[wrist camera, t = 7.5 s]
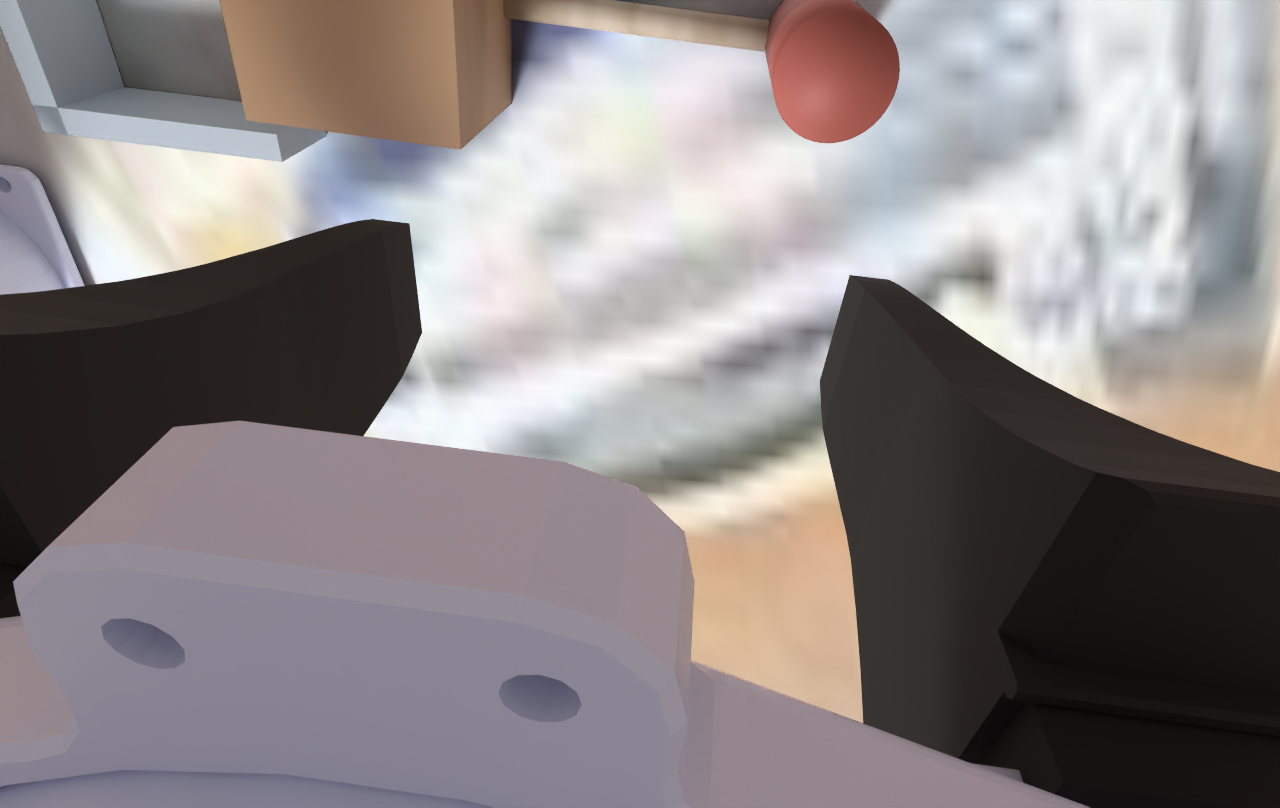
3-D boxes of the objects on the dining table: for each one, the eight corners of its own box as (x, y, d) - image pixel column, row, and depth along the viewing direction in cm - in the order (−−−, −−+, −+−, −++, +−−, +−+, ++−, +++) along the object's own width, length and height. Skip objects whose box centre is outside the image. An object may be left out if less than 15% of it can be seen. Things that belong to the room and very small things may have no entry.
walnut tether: (337, 80, 20) (234, 126, 16) (303, -146, 17) (166, -161, 13) (834, 146, 19) (860, 211, 15) (890, -74, 16) (941, -65, 12)
